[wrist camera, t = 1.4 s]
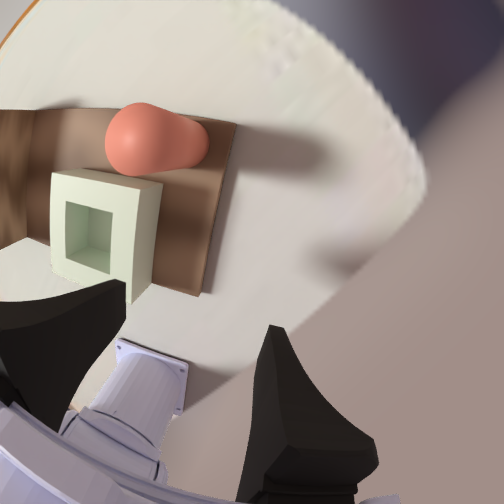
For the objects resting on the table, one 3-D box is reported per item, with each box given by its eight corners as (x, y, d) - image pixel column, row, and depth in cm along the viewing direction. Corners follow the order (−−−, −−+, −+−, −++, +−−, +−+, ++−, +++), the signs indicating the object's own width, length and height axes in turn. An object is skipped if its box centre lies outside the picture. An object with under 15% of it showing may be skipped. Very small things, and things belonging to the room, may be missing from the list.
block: (151, 283, 21) (131, 304, 17) (76, 257, 21) (52, 272, 18) (163, 183, 18) (140, 189, 15) (80, 168, 18) (51, 172, 15)
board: (200, 292, 22) (177, 334, 16) (22, 230, 22) (-15, 247, 16) (236, 124, 17) (218, 110, 12) (30, 111, 17) (-11, 111, 12)
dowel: (203, 172, 18) (160, 182, 11) (158, 163, 18) (100, 170, 11) (214, 124, 16) (176, 105, 10) (168, 117, 16) (112, 101, 10)
